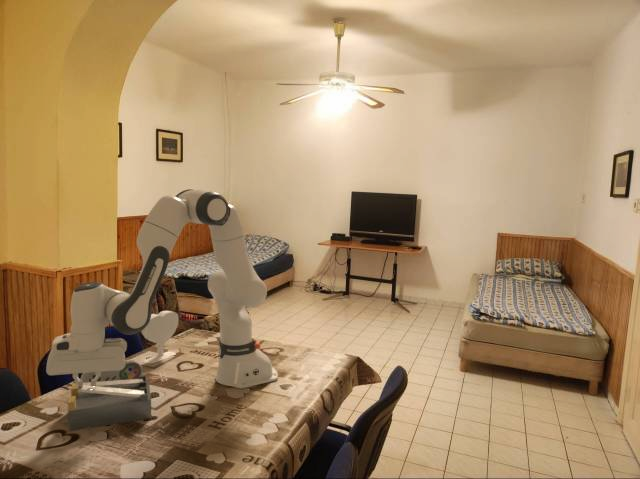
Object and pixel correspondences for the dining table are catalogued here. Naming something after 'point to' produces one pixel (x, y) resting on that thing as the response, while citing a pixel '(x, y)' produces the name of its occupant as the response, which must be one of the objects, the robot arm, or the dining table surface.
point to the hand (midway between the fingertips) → (86, 386)
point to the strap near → (111, 391)
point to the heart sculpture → (161, 333)
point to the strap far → (117, 383)
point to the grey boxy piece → (108, 407)
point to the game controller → (116, 373)
